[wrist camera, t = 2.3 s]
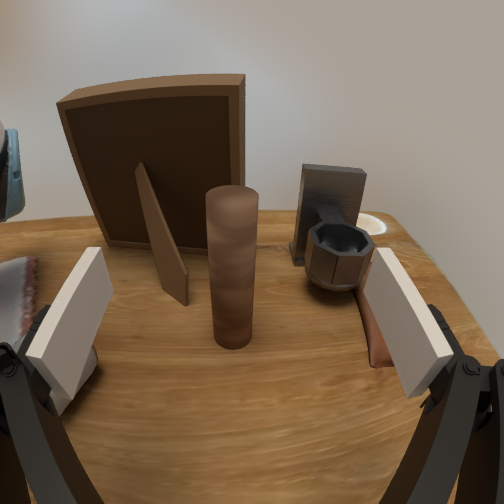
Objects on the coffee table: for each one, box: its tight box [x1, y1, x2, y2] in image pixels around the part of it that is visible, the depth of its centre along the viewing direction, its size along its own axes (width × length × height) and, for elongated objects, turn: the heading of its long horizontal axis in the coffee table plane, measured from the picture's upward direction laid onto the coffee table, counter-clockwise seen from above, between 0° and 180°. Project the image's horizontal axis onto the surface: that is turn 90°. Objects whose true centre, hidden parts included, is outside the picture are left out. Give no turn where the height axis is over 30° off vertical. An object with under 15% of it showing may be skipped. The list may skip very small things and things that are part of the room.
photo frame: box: [56, 74, 245, 306], centre depth 34 cm, size 15×22×25 cm
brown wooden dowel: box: [206, 185, 259, 349], centre depth 27 cm, size 4×4×16 cm
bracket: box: [289, 164, 375, 291], centre depth 37 cm, size 14×8×14 cm, turn 2°
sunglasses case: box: [353, 262, 395, 369], centre depth 34 cm, size 18×7×7 cm
